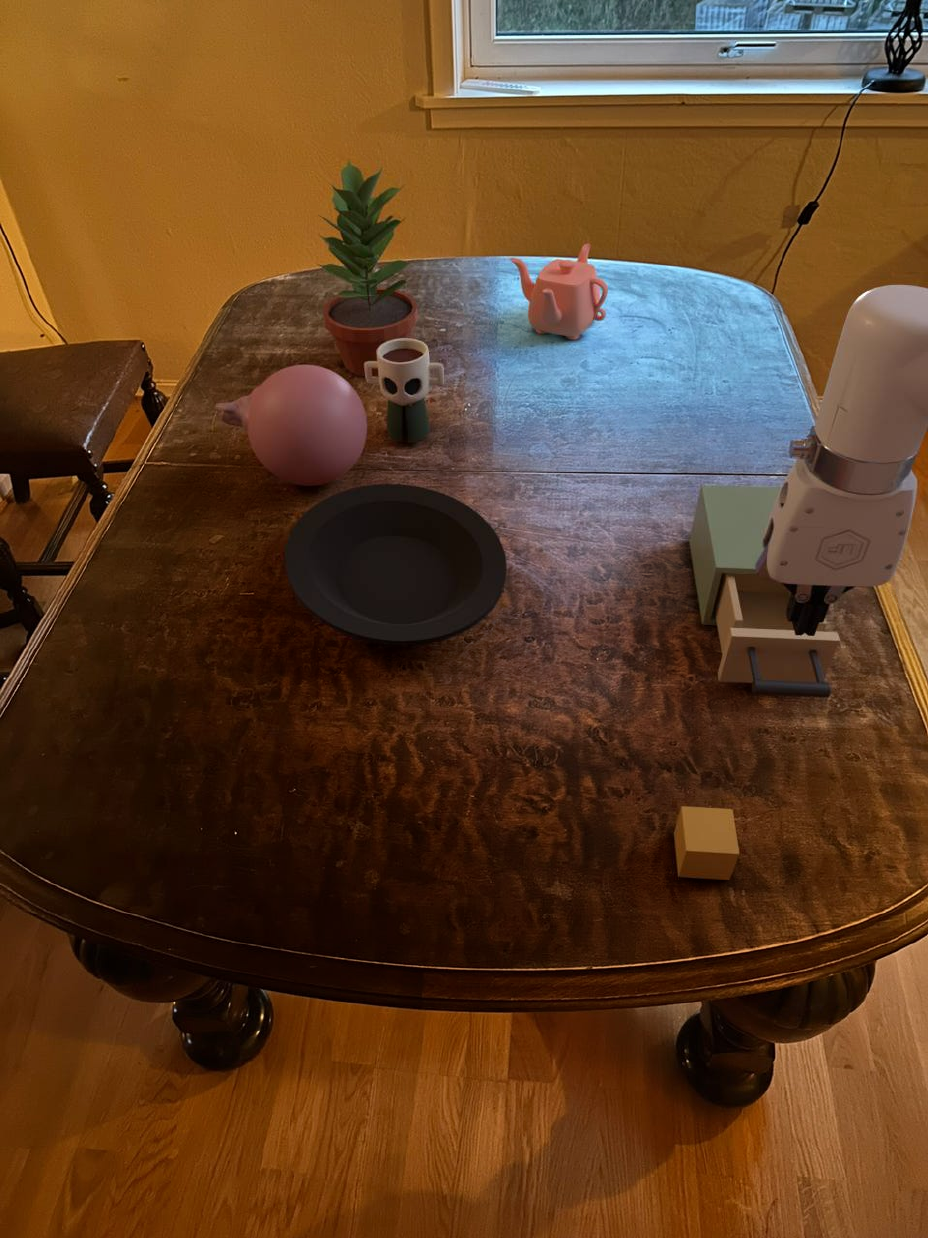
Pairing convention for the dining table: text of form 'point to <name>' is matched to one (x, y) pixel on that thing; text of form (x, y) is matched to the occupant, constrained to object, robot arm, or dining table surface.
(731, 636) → the drawer
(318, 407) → the balloon
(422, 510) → the plate
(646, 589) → the dining table surface
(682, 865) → the block
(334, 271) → the potted plant
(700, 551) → the cabinet
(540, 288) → the teapot
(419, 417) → the character mug
